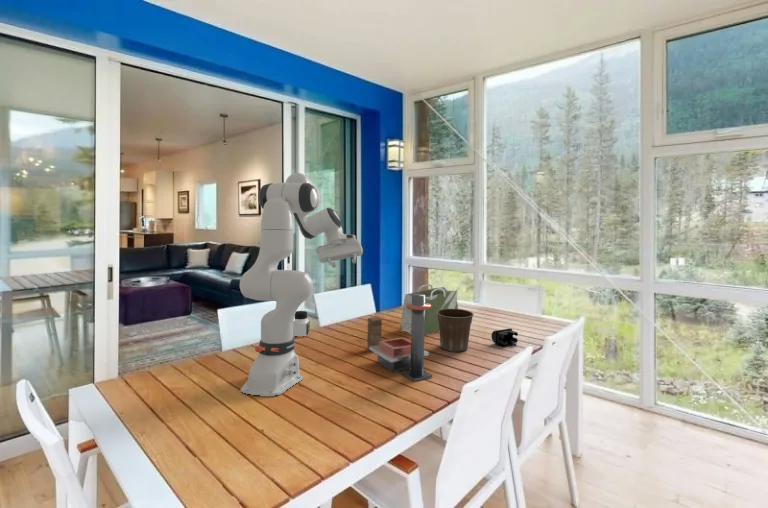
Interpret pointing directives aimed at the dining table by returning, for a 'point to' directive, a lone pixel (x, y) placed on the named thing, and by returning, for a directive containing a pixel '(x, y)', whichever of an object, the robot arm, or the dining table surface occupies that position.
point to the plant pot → (454, 329)
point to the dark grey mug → (504, 337)
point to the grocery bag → (438, 301)
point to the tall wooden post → (374, 331)
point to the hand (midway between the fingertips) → (344, 264)
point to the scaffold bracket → (407, 345)
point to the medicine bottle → (301, 324)
